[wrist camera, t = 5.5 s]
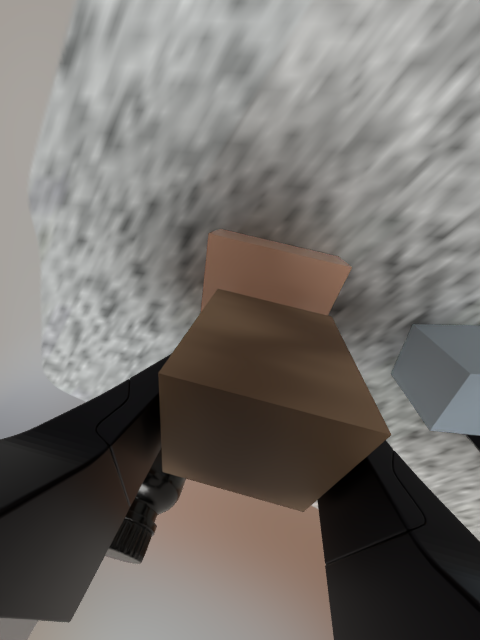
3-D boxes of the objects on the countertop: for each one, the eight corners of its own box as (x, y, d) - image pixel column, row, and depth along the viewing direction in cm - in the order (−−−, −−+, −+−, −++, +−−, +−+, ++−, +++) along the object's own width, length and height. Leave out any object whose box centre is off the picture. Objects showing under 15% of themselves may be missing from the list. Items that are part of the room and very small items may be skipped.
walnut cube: (331, 316, 8) (391, 435, 4) (292, 391, 11) (303, 511, 7) (217, 288, 8) (158, 373, 4) (206, 369, 11) (162, 471, 7)
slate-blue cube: (494, 325, 13) (596, 380, 9) (458, 377, 16) (526, 440, 12) (412, 323, 14) (470, 373, 10) (390, 373, 17) (429, 430, 12)
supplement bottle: (155, 370, 21) (43, 524, 11) (215, 389, 21) (160, 560, 11) (153, 406, 25) (67, 548, 14) (204, 422, 25) (154, 575, 15)
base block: (337, 255, 13) (352, 267, 10) (296, 346, 17) (299, 370, 15) (221, 228, 13) (208, 233, 11) (208, 324, 17) (197, 344, 15)
